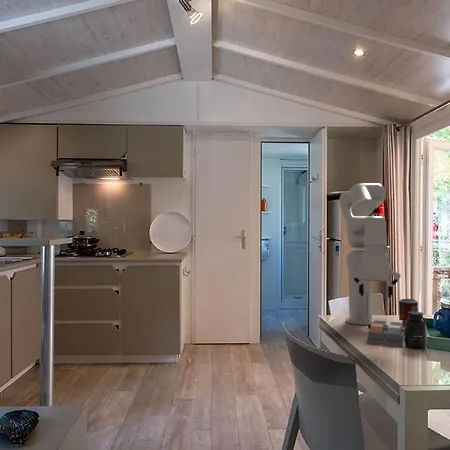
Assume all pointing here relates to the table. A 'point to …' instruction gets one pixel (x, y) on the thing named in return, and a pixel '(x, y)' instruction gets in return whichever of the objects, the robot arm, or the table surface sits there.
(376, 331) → the terracotta key
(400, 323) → the ivory key
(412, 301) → the soda can
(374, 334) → the keypad
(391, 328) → the slate key
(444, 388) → the table surface
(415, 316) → the supplement bottle
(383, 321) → the sage key
